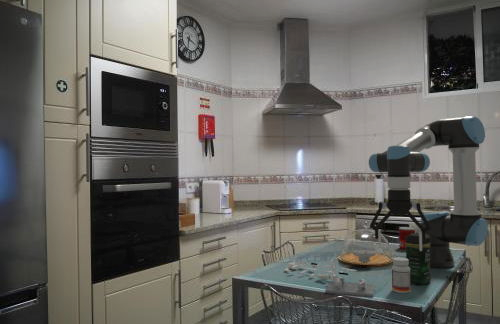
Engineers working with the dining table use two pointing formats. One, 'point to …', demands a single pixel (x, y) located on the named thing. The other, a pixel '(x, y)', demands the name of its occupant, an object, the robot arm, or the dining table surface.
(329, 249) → the dining table surface
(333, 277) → the miniature set
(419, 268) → the coffee jar
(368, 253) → the showerhead
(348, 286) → the grey knobbed plate
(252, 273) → the dining table surface
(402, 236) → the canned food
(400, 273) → the pill bottle
